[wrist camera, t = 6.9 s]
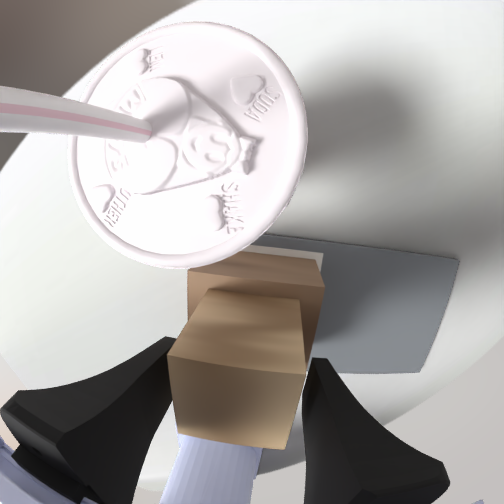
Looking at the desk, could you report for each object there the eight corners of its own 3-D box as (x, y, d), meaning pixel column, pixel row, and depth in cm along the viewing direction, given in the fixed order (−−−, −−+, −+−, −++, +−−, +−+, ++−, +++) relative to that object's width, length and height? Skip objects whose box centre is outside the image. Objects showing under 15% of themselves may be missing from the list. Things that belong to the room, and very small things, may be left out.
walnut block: (299, 347, 17) (301, 389, 13) (207, 336, 18) (189, 374, 14) (315, 259, 16) (325, 287, 12) (209, 247, 16) (187, 270, 12)
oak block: (299, 299, 12) (306, 374, 7) (286, 369, 13) (284, 449, 8) (208, 288, 12) (166, 354, 8) (207, 359, 13) (177, 433, 9)
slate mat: (417, 369, 17) (419, 372, 17) (203, 354, 19) (201, 358, 18) (456, 258, 15) (460, 261, 14) (206, 228, 16) (203, 229, 16)
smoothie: (197, 94, 14) (2, -35, 1) (307, 119, 14) (403, -87, 1) (169, 198, 16) (-65, 281, 3) (275, 228, 16) (234, 472, 2)
